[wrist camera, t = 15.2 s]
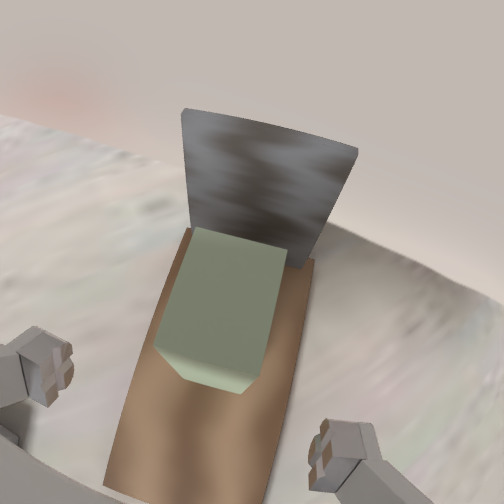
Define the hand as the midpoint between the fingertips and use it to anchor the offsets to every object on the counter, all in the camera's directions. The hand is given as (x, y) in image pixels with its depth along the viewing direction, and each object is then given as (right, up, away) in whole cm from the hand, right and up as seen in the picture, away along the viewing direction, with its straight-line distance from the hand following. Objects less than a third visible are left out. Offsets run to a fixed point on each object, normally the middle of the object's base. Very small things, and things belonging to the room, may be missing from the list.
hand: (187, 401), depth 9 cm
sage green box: (0, -3, +16) cm, 16 cm away
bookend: (-1, -6, +16) cm, 17 cm away
